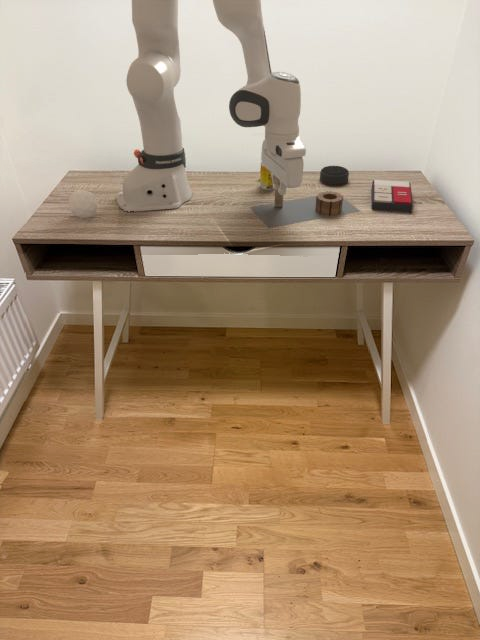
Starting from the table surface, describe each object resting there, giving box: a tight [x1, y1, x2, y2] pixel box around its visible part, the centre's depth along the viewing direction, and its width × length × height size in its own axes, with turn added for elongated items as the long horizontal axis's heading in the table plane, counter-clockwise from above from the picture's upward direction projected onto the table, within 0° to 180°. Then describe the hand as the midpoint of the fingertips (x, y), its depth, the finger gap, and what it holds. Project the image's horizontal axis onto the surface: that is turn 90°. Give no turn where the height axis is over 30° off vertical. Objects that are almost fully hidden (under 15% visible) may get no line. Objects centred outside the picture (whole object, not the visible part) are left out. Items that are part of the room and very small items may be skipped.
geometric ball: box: [68, 189, 99, 220], centre depth 134 cm, size 8×8×8 cm
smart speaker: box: [319, 165, 350, 187], centre depth 153 cm, size 9×9×4 cm
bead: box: [315, 191, 344, 217], centre depth 135 cm, size 7×7×4 cm
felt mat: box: [249, 195, 361, 228], centre depth 138 cm, size 28×14×1 cm, turn 110°
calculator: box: [370, 179, 414, 215], centre depth 141 cm, size 11×4×15 cm
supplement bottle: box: [259, 162, 275, 191], centre depth 148 cm, size 6×6×10 cm
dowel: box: [273, 177, 284, 207], centre depth 136 cm, size 2×2×10 cm
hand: (279, 191), depth 136 cm, fingers closed on dowel, 2 cm apart
